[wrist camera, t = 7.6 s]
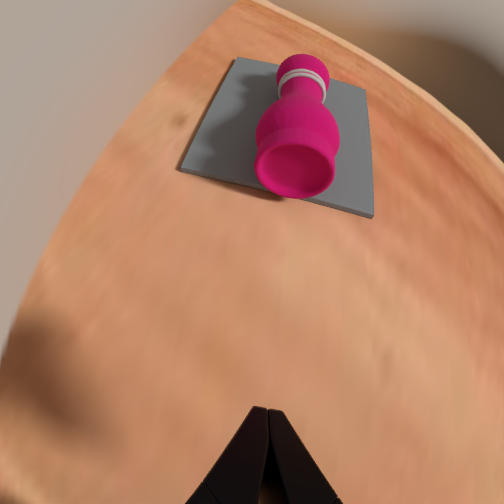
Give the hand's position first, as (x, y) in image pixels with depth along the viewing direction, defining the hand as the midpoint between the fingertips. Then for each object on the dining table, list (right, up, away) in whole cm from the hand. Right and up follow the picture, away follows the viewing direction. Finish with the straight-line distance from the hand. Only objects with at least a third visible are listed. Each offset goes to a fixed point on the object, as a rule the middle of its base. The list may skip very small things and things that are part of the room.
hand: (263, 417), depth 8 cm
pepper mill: (+3, +10, +16) cm, 19 cm away
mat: (+4, +19, +25) cm, 32 cm away
